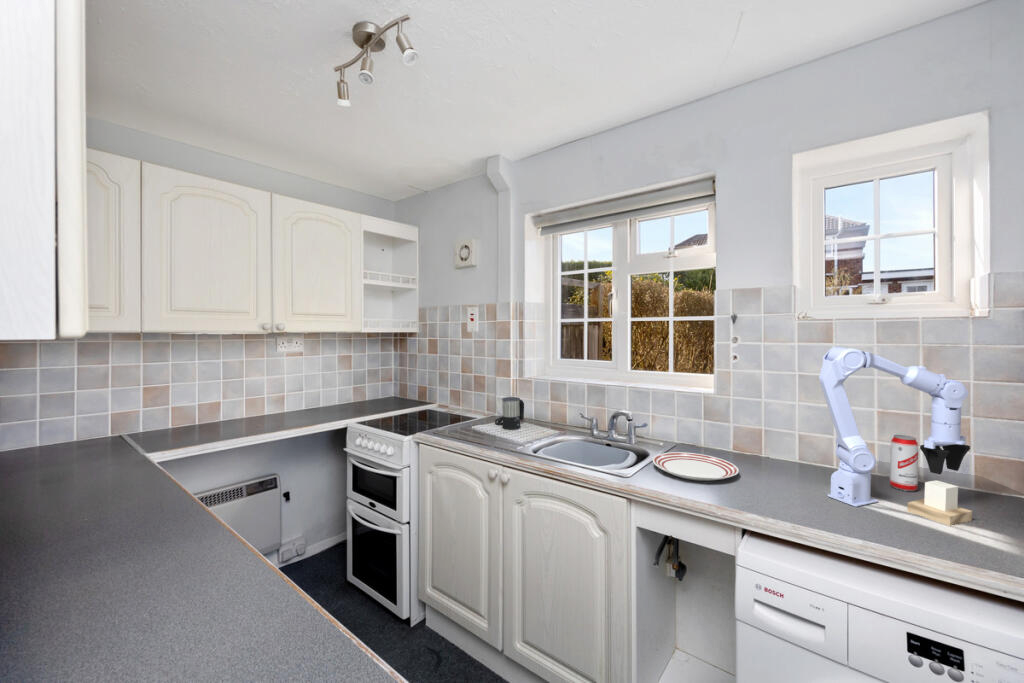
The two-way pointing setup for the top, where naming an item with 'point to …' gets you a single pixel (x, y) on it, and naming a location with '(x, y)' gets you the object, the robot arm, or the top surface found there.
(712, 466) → the dinner plate
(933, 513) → the oak block
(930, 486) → the white block
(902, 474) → the beer can
